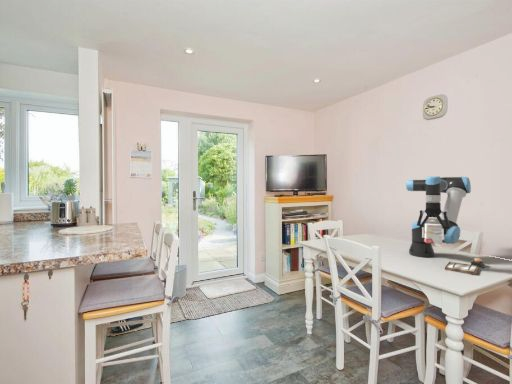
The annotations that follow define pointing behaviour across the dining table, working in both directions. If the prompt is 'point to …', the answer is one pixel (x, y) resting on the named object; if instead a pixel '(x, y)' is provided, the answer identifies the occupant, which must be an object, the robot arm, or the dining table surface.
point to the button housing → (478, 264)
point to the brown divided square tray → (462, 268)
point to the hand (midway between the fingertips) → (433, 238)
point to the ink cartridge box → (433, 231)
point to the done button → (478, 260)
